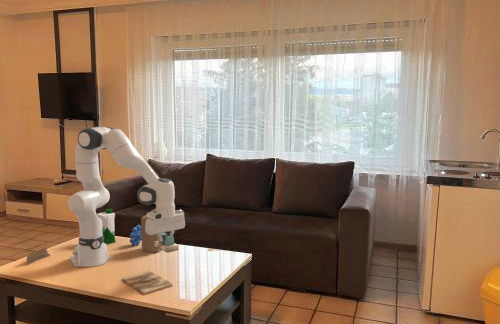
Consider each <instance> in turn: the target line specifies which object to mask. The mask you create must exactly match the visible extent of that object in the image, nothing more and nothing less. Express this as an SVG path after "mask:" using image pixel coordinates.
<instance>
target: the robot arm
mask: <svg viewBox="0 0 500 324" xmlns="http://www.w3.org/2000/svg"><path fill="white" fill-rule="evenodd" d="M100 150H108V151H109V153H110V154H111V156H112V159H114V161H115V163H117V165H119V166H120V167H123V168H126V169H127V168H128V169H131V170H134V171H137V172H138V174H140V175H141V176H142V177H143V179H144V180H145V181H146V183H147V184H145V185H142V186H141V187H139V188H138V190H137V200H138V201H139V203H141V204H142V205H145V206H150V205H155V208H154V209H152V210H151V211H149V212H147V213H146V215H147V217H148V219H147V220H146V225H145V232H146V233H147V234H148V235H154V234H158V236H159V238H160V241H161V242H163V241H164V238H163V237H162V236H161V235H162V233H163V232H164V233H167V232H169V235H171V236H173V237H174V234H175V231H177V230H181V229H184V228H185V226H186V221H185V212H184V210H182V209H177V210H176V205H175V198H176V197H175V196H176V195H175V194H176V192H175V184H174V182H173V180H172V179H169V178H166V177H164V178H163V177H160V176H159V175H158V173H156V171H155V170H154V169H153V167H152V166H151V164H149V162H148V161H147V159H146V158H144V157H143V156H142V155H141V154H140V153H139V151H138V150H137V149H136V148H135V146H134V145H133V143H132V142H131V140H130V139H129V137H128V136H127V135H126V134H125V133H124V132H123V131H122V129H120V128H112V127H110V126H94V127H87V128H84V129H82V130H80V131H79V132H78V134H77V143H76V146H75V152H74V153H75V155H74V156H75V157H74V158H75V160H74V161H75V173H76V174H75V175H76V179H77V180H78V181H79V182H81V184H82V187H83V190H80V191H77V192H75V193H73V194H72V195H71V196H70V197H69V198H68V200H67V205H68V208H69V210H70V211H71V212H72V213H74V214H75V216H76V218H77V221H78V227H79V236H78V237H79V238H78V244H77V245H76V246H75V247H74V250H72V251H71V252H72V253H71V254H72V255H71V256H69V260H70V261H71V263H72V266H73V267H75V268H78V267H82V268H91V267H98V266H101V265H104V264H106V263H107V261H108V260H110V259H111V256H110V255H108V248H107V244H105V243H104V237H103V233H102V220H101V219H100V218H98V217H97V212H96V210H97V209H99V208H102V207H103V206H105V205H106V204H107V203H108V202H109V201H110V198H111V196H110V195H111V194H110V192H109V190H108V189H107V188H106V187H105V186H104V184H103V181H102V178H101V175H100V163H99V152H100Z"/></svg>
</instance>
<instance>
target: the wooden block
mask: <svg viewBox="0 0 500 324" xmlns="http://www.w3.org/2000/svg"><path fill="white" fill-rule="evenodd" d="M147 219H148V217H147V214H145V215H143V216H141V218H140V226H141V236H142V240H141V252H145V253H159V252H160V251H162V250H161V249H158V248H156V247H154V242H155V241H159V236H158V234H154V235H148V234H147V233H146V232H145V225H146V220H147ZM163 233H165V232H163Z"/></svg>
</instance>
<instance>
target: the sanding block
mask: <svg viewBox="0 0 500 324" xmlns="http://www.w3.org/2000/svg"><path fill="white" fill-rule="evenodd" d="M161 236H162V237H163V238H164V241H163V242H161V241H160V238H159V241H155V242H154V247H156V248H158V249H161V250H160V251H163V252H165V253H168V254H169V253H172V252H176V251H179V244H177V243H175V236H174V235H173V236H171V235H170V234H169V233H167V232H164V233H162V235H161Z"/></svg>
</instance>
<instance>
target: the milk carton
mask: <svg viewBox="0 0 500 324" xmlns="http://www.w3.org/2000/svg"><path fill="white" fill-rule="evenodd" d="M96 215H97V217H98V218H100V219H101V220H102V233H103V237H104V243H105V244H106V245H109V244H113V243H116V234H115V230H116V229H115V217H116V213H115V212H114V211H113V208H107V209H104V212H100V213H96Z"/></svg>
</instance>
